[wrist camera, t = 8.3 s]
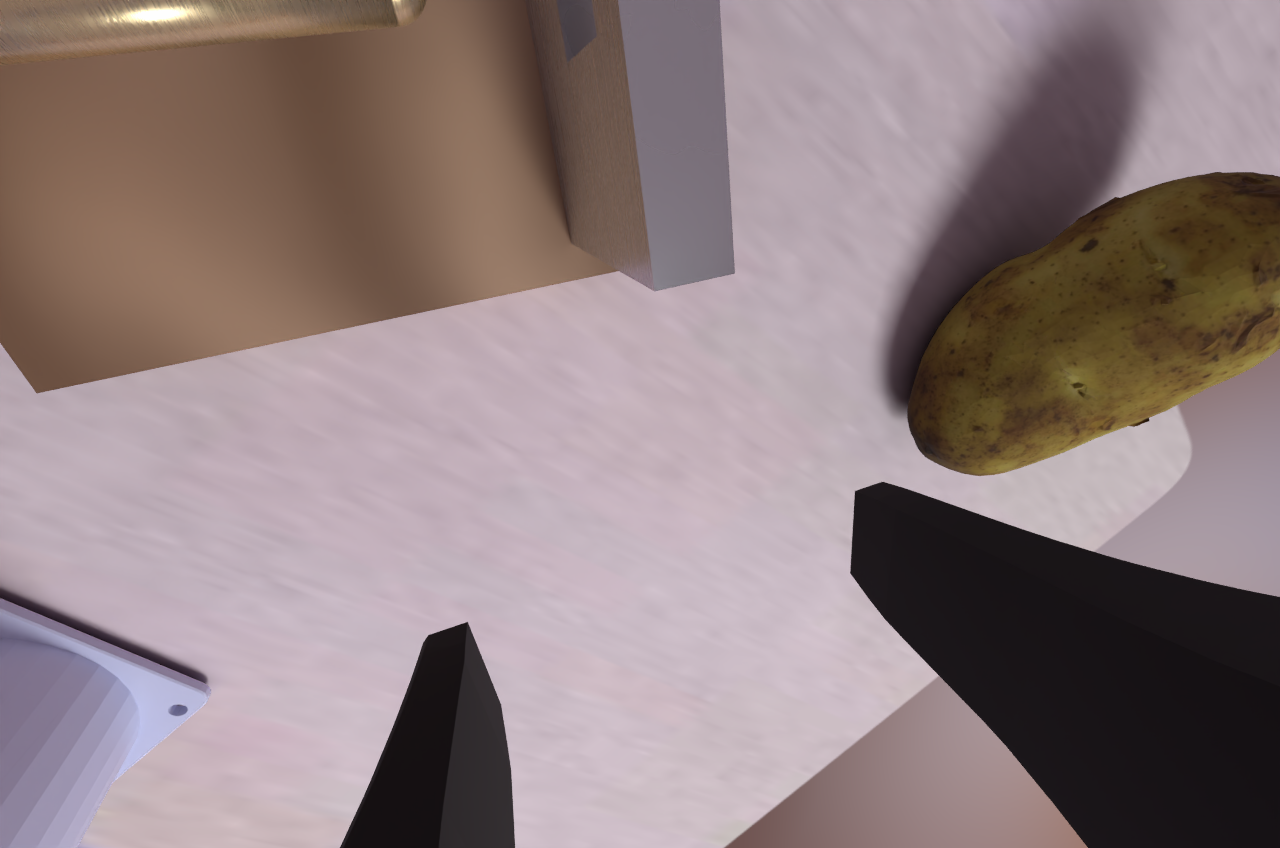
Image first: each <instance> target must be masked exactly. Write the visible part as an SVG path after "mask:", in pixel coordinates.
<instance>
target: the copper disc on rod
mask: <svg viewBox="0 0 1280 848" xmlns="http://www.w3.org/2000/svg"><path fill="white" fill-rule="evenodd" d="M426 2H427V0H0V66H2V65H13V64H23V63H33V62H43V61H54V60H64V59H74V58H85V57H95V56H105V55H115V54H126V53H136V52H146V51H156V50H167V49H177V48H187V47H198V46H208V45H218V44H228V43H239V42H249V41H259V40H269V39H280V38H290V37H300V36H310V35H321V34H331V33H341V32H352V31H362V30H372V29H382V28H393V27H402V26H406V25H409V24H411V23H413V22H414V21H415V20H416V19H417V18H419V16H420V15H421V13H422V12H423V10H424V8H425V5H426Z"/></svg>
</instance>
